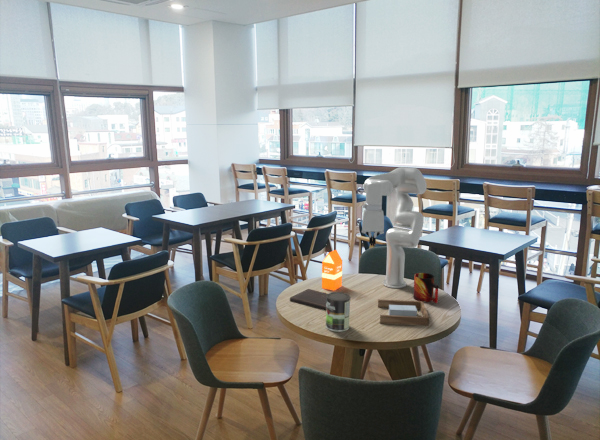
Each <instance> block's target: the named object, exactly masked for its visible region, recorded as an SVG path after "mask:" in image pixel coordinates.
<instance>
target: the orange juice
mask: <svg viewBox="0 0 600 440" xmlns="http://www.w3.org/2000/svg"><path fill="white" fill-rule="evenodd" d="M321 265H322V266H321V267H322V268H321V289H325V290H331V291H333V292H335V291H336V290H337V289H339V288H341V287H342V286H343V284H342V283H343V281H342V280H343V259H342V258H341V255H340V254H339V251H338V250H337V249H334V250H332V251H329V252H328V253H327V255H326V256H325V257H324V259H323V260H322V262H321Z"/></svg>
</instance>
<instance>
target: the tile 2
mask: <svg viewBox="0 0 600 440" xmlns="http://www.w3.org/2000/svg"><path fill="white" fill-rule="evenodd" d="M402 307H403V316H417V317H418V309H416V306H410V305H402Z"/></svg>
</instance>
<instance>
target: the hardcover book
mask: <svg viewBox="0 0 600 440" xmlns="http://www.w3.org/2000/svg"><path fill="white" fill-rule="evenodd" d="M327 294H328V293H326V292H323V291H318V290H314V289H309V288H307V289H305V290H303V291H301V292H299V293H297V294H295V295H293V296H290V297H289V301H290V302H292V303H296V304H299V305H304V306H307V307H311V308H314V309H318V310H322V311H325V312H326V295H327Z"/></svg>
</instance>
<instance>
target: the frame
mask: <svg viewBox="0 0 600 440" xmlns="http://www.w3.org/2000/svg"><path fill="white" fill-rule="evenodd" d="M389 305H410V306H416V309H417V310H420V312H421V316H418V315H417V316H396V315H389V314H379V316H380V317H379V324H384V325H385V324H386V325H387V324H389V325H405V326H407V325H408V326H409V325H410V326H425V327H426V326H427V327H428V326H430V316H429V314H428V311H427V308H426V306H425V302H423V301H417V300H403V299H402V300H400V299H399V300H398V299H396V300H395V299H377V308H383V309H384V308H385V309H386V308H387V309H389Z"/></svg>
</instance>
